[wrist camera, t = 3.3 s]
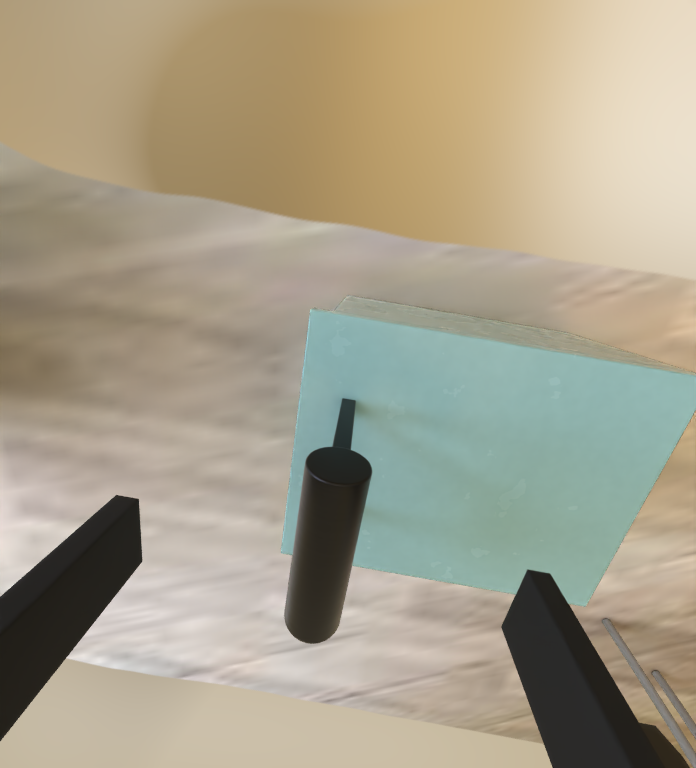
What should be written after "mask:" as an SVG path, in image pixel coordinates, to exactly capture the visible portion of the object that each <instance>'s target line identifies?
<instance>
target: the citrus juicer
mask: <svg viewBox="0 0 696 768" xmlns="http://www.w3.org/2000/svg"><path fill="white" fill-rule="evenodd" d="M602 623H603V624H604V626H605V627H606V629H607V631H608V632H609V634H610V635H611V637H612V638H613V640H614V641H615V643H616V645H617V646H618V648H619V649H620V651H621V652H622V654H623V656H624V657H625V659H626V660H627V662H628V663H629V665H630V667H631V668H632V670H633V671H634V673H635V675H636V676H637V678H638V679H639V681H640V683H641V684H642V686H643V687H644V689H645V690H646V692H647V694H648V695H649V697H650V698H651V700H652V702H653V703H654V705H655V706H656V708H657V710H658V711H659V713H660V714H661V716H662V718H663V719H664V721H665V722H666V724H667V726H668V727H669V729H670V730H671V732H672V734H673V735H674V737H675V738H676V740H677V742H678V743H679V745H680V747H681V748H682V750H683V751H684V753H685V755H686V756H687V758H688V759H689V761H690V763H691V764H692V766H693V768H696V753H695V751H694V750H693V748H692V747H691V745H690V743H689V742H688V740H687V739H686V737H685V735H684V734H683V732H682V731H681V729H680V728H679V726H678V724H677V723H676V721H675V720H674V718H673V717H672V715H671V713H670V712H669V710H668V709H667V707H666V706H665V704H664V702H663V701H662V699H661V698H660V696H659V695H658V693H657V691H656V690H655V688H654V687H653V685H652V684H651V682H650V681H649V679H648V677H647V676H646V674H645V673H644V671H643V670H642V668H641V667H640V665H639V664H638V662H637V660H636V659H635V657H634V656H633V654H632V653H631V651H630V650H629V648H628V647H627V645H626V644H625V642H624V641H623V639H622V638H621V636H620V635H619V633H618V632H617V630H616V629H615V627H614V626H613V624H612V623H611V621H610V620H609V619H604V620H603V621H602ZM652 675H653V676H654V678H655V679H656V680H657V682H658V683H659V685H660V686H661V688H662V689H663V691H664V692H665V693H666V695H667V696H668V698H669V699H670V701H671V702H672V704H673V705H674V707H675V708H676V710H677V711H678V713H679V714H680V716H681V717H682V719H683V721H684V722H685V724H686V725H687V727H688V728H689V730H690V731H691V733H692V734H693V736H694V738H695V739H696V724H695V723H694V721H693V720H692V718H691V717H690V715H689V714H688V712H687V711H686V709H685V708H684V706H683V705H682V703H681V702H680V701H679V699H678V698H677V696H676V695H675V693H674V692H673V690H672V689H671V688H670V686H669V685H668V683H667V682H666V681H665V679H664V678H663V677H662V675H661V674H660V672H659V671H654V672H652Z"/></svg>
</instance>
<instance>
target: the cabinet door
mask: <svg viewBox="0 0 696 768" xmlns="http://www.w3.org/2000/svg"><path fill="white" fill-rule="evenodd" d="M695 411H696V373H690V372H685V371H679V370H673V369H667V368H661V367H656V366H650V365H644V364H638V363H632V362H627V361H621V360H615V359H609V358H603V357H598V356H592V355H586V354H580V353H574V352H569V351H563V350H557V349H551V348H545V347H540V346H534V345H528V344H522V343H516V342H511V341H505V340H499V339H493V338H487V337H482V336H476V335H470V334H464V333H458V332H453V331H447V330H441V329H435V328H429V327H424V326H418V325H412V324H406V323H400V322H395V321H389V320H383V319H377V318H371V317H366V316H360V315H354V314H348V313H343V312H337V311H331V310H325V309H319V308H312V309H311V310H310V315H309V323H308V332H307V340H306V348H305V356H304V365H303V373H302V381H301V389H300V397H299V406H298V414H297V422H296V430H295V439H294V447H293V455H292V463H291V471H290V480H289V488H288V496H287V504H286V513H285V521H284V529H283V537H282V545H281V553H283V554H289V555H292V562H291V569H290V576H289V583H288V591H287V598H286V605H285V614H284V617H285V623H286V625H287V628H288V630H289V631H290V633H291V634H292V635H293V636H294V637H295V638H297V639H298V640H300V641H302V642H305V643H310V644H316V643H320V642H323V641H325V640H327V639H328V638H330V637H331V636H332V635H333V634H334V633H335V631H336V630H337V628H338V626H339V622H340V618H341V614H342V609H343V604H344V600H345V595H346V591H347V586H348V582H349V577H350V572H351V568H352V566H357V567H362V568H368V569H374V570H379V571H385V572H391V573H396V574H402V575H408V576H413V577H419V578H425V579H431V580H436V581H442V582H448V583H453V584H459V585H465V586H470V587H476V588H482V589H487V590H493V591H499V592H504V593H510V594H516V593H517V591H518V589H519V587H520V585H521V582H522V580H523V578H524V576H525V573H526V571H527V569H528V570H534V571H539V572H545V573H550V574H551V575H552V577H553V579H554V580H555V582H556V584H557V586H558V587H559V589H560V591H561V592H562V594H563V596H564V597H565V599H566V601H567V602H568V604H573V605H578V606H584V607H585V606H586V605H587V603H588V602H589V600H590V598H591V596H592V595H593V593H594V591H595V589H596V587H597V586H598V584H599V582H600V580H601V578H602V577H603V575H604V573H605V571H606V570H607V568H608V566H609V564H610V562H611V561H612V559H613V557H614V555H615V553H616V552H617V550H618V548H619V546H620V545H621V543H622V541H623V539H624V537H625V536H626V534H627V532H628V530H629V529H630V527H631V525H632V523H633V521H634V520H635V518H636V516H637V514H638V512H639V511H640V509H641V507H642V505H643V504H644V502H645V500H646V498H647V496H648V495H649V493H650V491H651V489H652V487H653V486H654V484H655V482H656V480H657V479H658V477H659V475H660V473H661V471H662V470H663V468H664V466H665V464H666V462H667V461H668V459H669V457H670V455H671V454H672V452H673V450H674V448H675V446H676V445H677V443H678V441H679V439H680V438H681V436H682V434H683V432H684V430H685V429H686V427H687V425H688V423H689V421H690V420H691V418H692V416H693V414H694V413H695Z"/></svg>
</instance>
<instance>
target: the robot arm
mask: <svg viewBox="0 0 696 768" xmlns="http://www.w3.org/2000/svg"><path fill="white" fill-rule="evenodd" d="M141 562H142V547H141V530H140V513H139V499H135V498H130V497H124V496H119V495H116V496H115V497H114V498H112V499H111V500H110V501H109V502H108V503H107V504H106V505H104V506H103V507H102V508H101V509H100V510H99V511H98V512H96V513H95V514H94V515H93V516H92V517H91V518H90V519H88V520H87V521H86V522H85V523H84V524H83V525H82V526H81V527H79V528H78V529H77V530H76V531H75V532H74V533H73V534H71V535H70V536H69V537H68V538H67V539H66V540H65V541H63V542H62V543H61V544H60V545H59V546H58V547H57V548H55V549H54V550H53V551H52V552H51V553H50V554H49V555H47V556H46V557H45V558H44V559H43V560H42V561H41V562H39V563H38V564H37V565H36V566H35V567H34V568H33V569H32V570H30V571H29V572H28V573H27V574H26V575H25V576H24V577H22V578H21V579H20V580H19V581H18V582H17V583H16V584H14V585H13V586H12V587H11V588H10V589H9V590H8V591H6V592H5V593H4V594H3V595H2V596H1V597H0V741H1V740H2V738H3V737H4V736H5V735H6V733H7V732H8V731H9V730H10V728H11V727H12V726H13V724H14V723H15V722H16V721H17V719H18V718H19V717H20V715H21V714H22V713H23V712H24V711H25V709H26V708H27V707H28V705H29V704H30V703H31V702H32V700H33V699H34V698H35V697H36V695H37V694H38V693H39V692H40V690H41V689H42V688H43V686H44V685H45V684H46V683H47V681H48V680H49V679H50V677H51V676H52V675H53V674H54V673H55V671H56V670H57V669H58V667H59V666H60V665H61V664H62V662H63V661H64V660H65V659H66V657H67V656H68V655H69V654H70V652H71V651H72V650H73V648H74V647H75V646H76V645H77V643H78V642H79V641H80V640H81V638H82V637H83V636H84V635H85V633H86V632H87V631H88V630H89V628H90V627H91V626H92V624H93V623H94V622H95V621H96V619H97V618H98V617H99V616H100V614H101V613H102V612H103V611H104V609H105V608H106V607H107V605H108V604H109V603H110V602H111V600H112V599H113V598H114V597H115V595H116V594H117V593H118V592H119V590H120V589H121V588H122V586H123V585H124V584H125V583H126V581H127V580H128V579H129V578H130V576H131V575H132V574H133V573H134V571H135V570H136V569H137V567H138V566H139V565H140V564H141ZM502 630H503V633H504V636H505V638H506V641H507V644H508V647H509V649H510V652H511V655H512V658H513V660H514V663H515V666H516V668H517V671H518V674H519V677H520V679H521V682H522V685H523V688H524V690H525V693H526V696H527V699H528V701H529V704H530V707H531V710H532V712H533V715H534V718H535V720H536V723H537V726H538V729H539V731H540V734H541V737H542V740H543V742H544V745H545V748H546V751H547V753H548V756H549V759H550V762H551V764H552V767H553V768H690V767H689V766H688V764H687V763H686V761H685V760H684V758H683V757H682V756H681V754H680V753H679V752H678V751H677V750H676V749H675V748H674V747H673V745H672V744H671V743H670V742H669V741H668V740H667V739H666V737H665V736H664V735H663V734H662V733H661V732H660V731H659V729H658V728H657V727H656V726H654V725H648V724H643V723H639V722H638V721H637V719H636V717H635V716H634V714H633V712H632V711H631V709H630V707H629V705H628V704H627V702H626V700H625V699H624V697H623V695H622V694H621V692H620V690H619V689H618V687H617V685H616V684H615V682H614V680H613V678H612V677H611V675H610V673H609V672H608V670H607V668H606V667H605V665H604V663H603V662H602V660H601V658H600V656H599V655H598V653H597V651H596V650H595V648H594V646H593V645H592V643H591V641H590V640H589V638H588V636H587V635H586V633H585V631H584V629H583V628H582V626H581V624H580V623H579V621H578V619H577V618H576V616H575V614H574V613H573V611H572V609H571V608H570V606H569V604H568V602H567V601H566V599H565V597H564V596H563V594H562V592H561V591H560V589H559V587H558V586H557V584H556V582H555V580H554V579H553V577H552V575H551V574H550V573H545V572H539V571H534V570H528V569H527V571H526V573H525V576H524V578H523V580H522V582H521V585H520V587H519V589H518V591H517V593H516V596H515V598H514V600H513V602H512V604H511V607H510V609H509V611H508V613H507V615H506V618H505V620H504V622H503V624H502Z"/></svg>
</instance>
